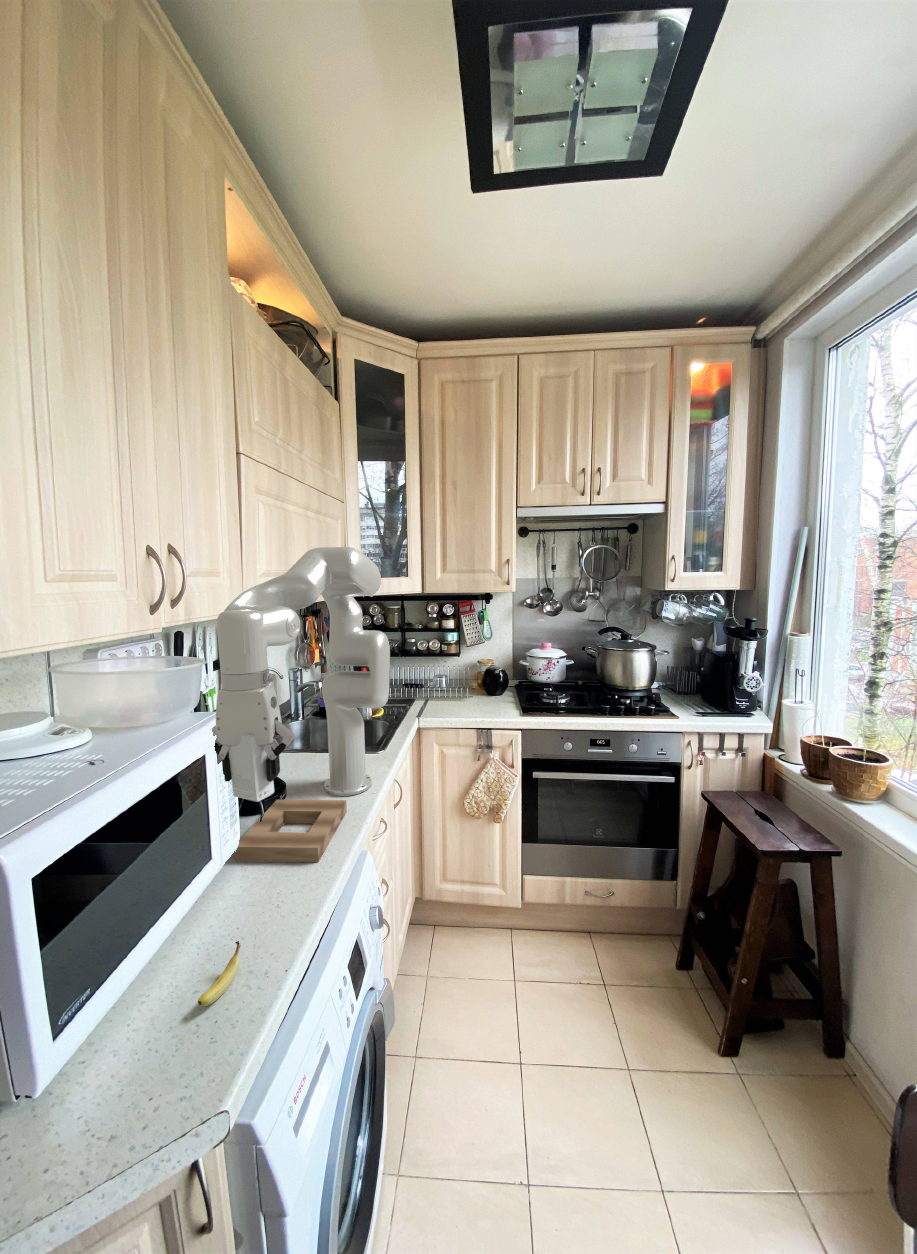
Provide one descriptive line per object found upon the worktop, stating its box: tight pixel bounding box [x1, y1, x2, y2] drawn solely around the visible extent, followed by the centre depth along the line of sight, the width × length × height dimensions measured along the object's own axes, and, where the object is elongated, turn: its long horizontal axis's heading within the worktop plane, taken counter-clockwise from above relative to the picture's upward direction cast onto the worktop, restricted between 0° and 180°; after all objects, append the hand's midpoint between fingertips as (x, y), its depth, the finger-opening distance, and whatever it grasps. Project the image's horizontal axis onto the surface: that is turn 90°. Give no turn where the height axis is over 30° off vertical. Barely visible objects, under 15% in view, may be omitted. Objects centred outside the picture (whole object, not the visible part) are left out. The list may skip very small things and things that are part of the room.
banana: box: [197, 940, 242, 1007], centre depth 64 cm, size 8×2×4 cm, turn 170°
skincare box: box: [228, 734, 275, 803], centre depth 83 cm, size 6×4×12 cm
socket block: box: [234, 799, 348, 863], centre depth 103 cm, size 20×17×3 cm
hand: (252, 777), depth 84 cm, fingers closed on skincare box, 7 cm apart
